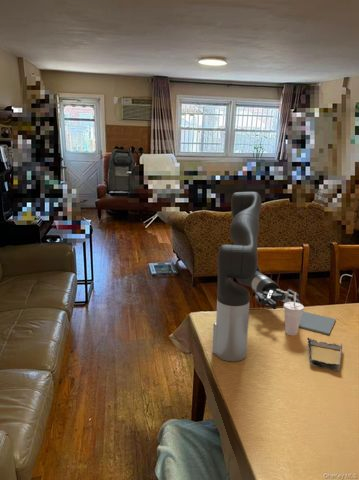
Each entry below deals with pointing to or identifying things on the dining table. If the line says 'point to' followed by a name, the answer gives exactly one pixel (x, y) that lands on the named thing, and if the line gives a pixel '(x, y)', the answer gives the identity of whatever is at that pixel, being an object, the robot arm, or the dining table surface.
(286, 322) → the smoothie
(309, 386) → the dining table surface
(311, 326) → the mat
